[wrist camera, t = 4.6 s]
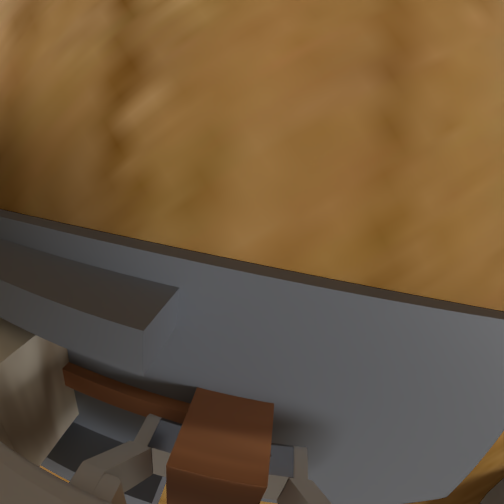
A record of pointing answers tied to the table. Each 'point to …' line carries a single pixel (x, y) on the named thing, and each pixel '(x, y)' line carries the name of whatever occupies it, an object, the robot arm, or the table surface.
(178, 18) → the table surface
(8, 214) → the grey slider tray
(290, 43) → the table surface
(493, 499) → the cup
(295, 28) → the table surface
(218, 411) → the block
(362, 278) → the table surface
